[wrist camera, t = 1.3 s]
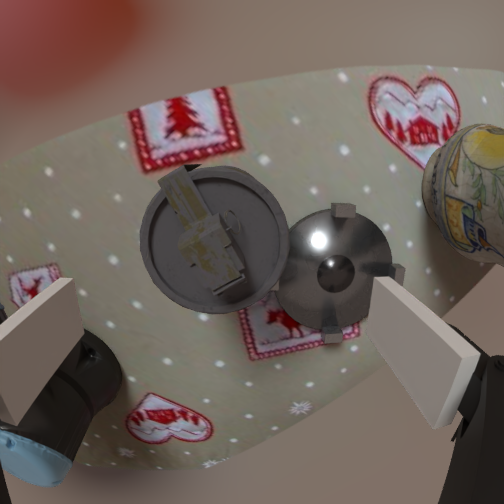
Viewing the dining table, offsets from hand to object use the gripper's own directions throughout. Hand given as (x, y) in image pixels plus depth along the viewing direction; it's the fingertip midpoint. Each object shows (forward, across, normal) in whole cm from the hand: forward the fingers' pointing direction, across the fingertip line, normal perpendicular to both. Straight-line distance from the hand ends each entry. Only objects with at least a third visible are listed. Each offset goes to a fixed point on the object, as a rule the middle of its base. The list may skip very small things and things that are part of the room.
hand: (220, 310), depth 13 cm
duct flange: (+26, +13, -7) cm, 30 cm away
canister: (+27, -1, +1) cm, 27 cm away
